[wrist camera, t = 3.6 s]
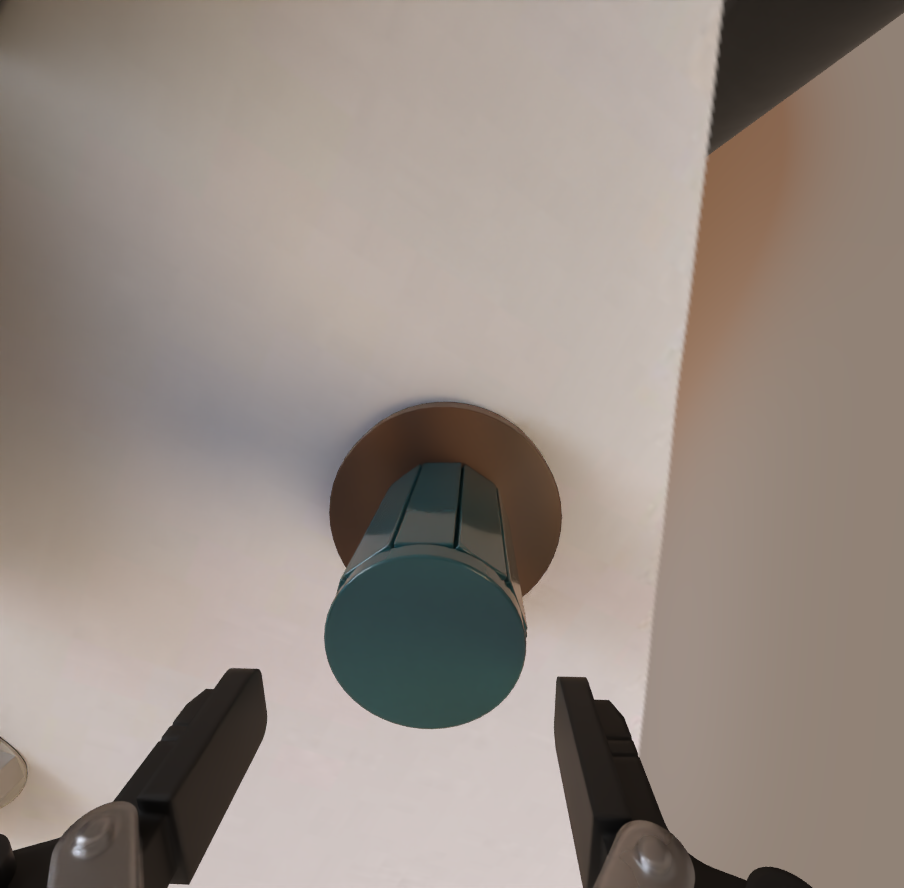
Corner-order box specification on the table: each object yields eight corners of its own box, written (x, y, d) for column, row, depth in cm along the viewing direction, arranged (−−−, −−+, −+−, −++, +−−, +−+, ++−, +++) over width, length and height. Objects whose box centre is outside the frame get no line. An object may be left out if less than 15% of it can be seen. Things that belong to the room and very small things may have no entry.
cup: (483, 443, 22) (488, 526, 13) (522, 560, 24) (552, 708, 15) (363, 482, 23) (289, 584, 14) (408, 592, 25) (368, 751, 15)
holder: (519, 369, 23) (549, 400, 14) (582, 574, 26) (642, 715, 16) (303, 442, 24) (198, 513, 15) (383, 628, 27) (336, 784, 18)
